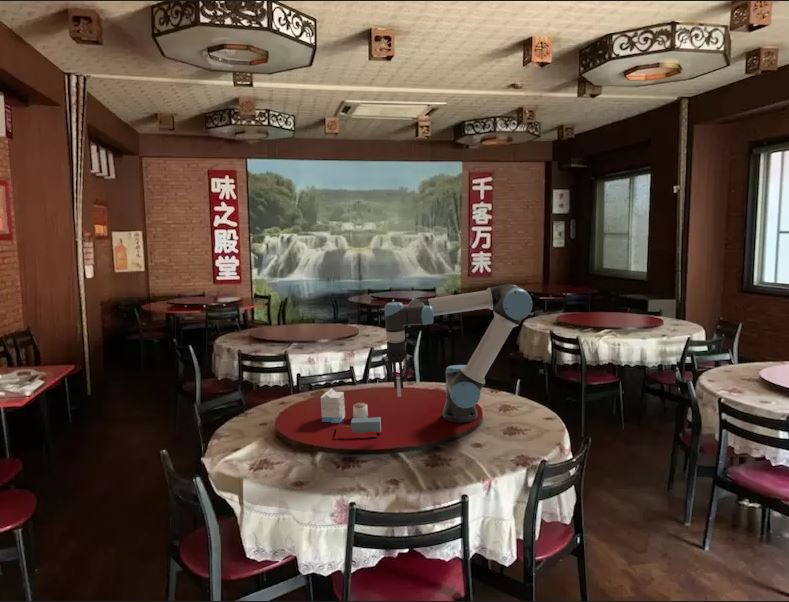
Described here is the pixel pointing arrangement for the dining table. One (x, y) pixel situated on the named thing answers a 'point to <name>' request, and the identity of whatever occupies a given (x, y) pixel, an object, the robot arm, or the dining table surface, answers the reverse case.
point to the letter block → (366, 425)
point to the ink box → (332, 406)
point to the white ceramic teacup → (360, 410)
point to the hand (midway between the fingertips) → (399, 395)
